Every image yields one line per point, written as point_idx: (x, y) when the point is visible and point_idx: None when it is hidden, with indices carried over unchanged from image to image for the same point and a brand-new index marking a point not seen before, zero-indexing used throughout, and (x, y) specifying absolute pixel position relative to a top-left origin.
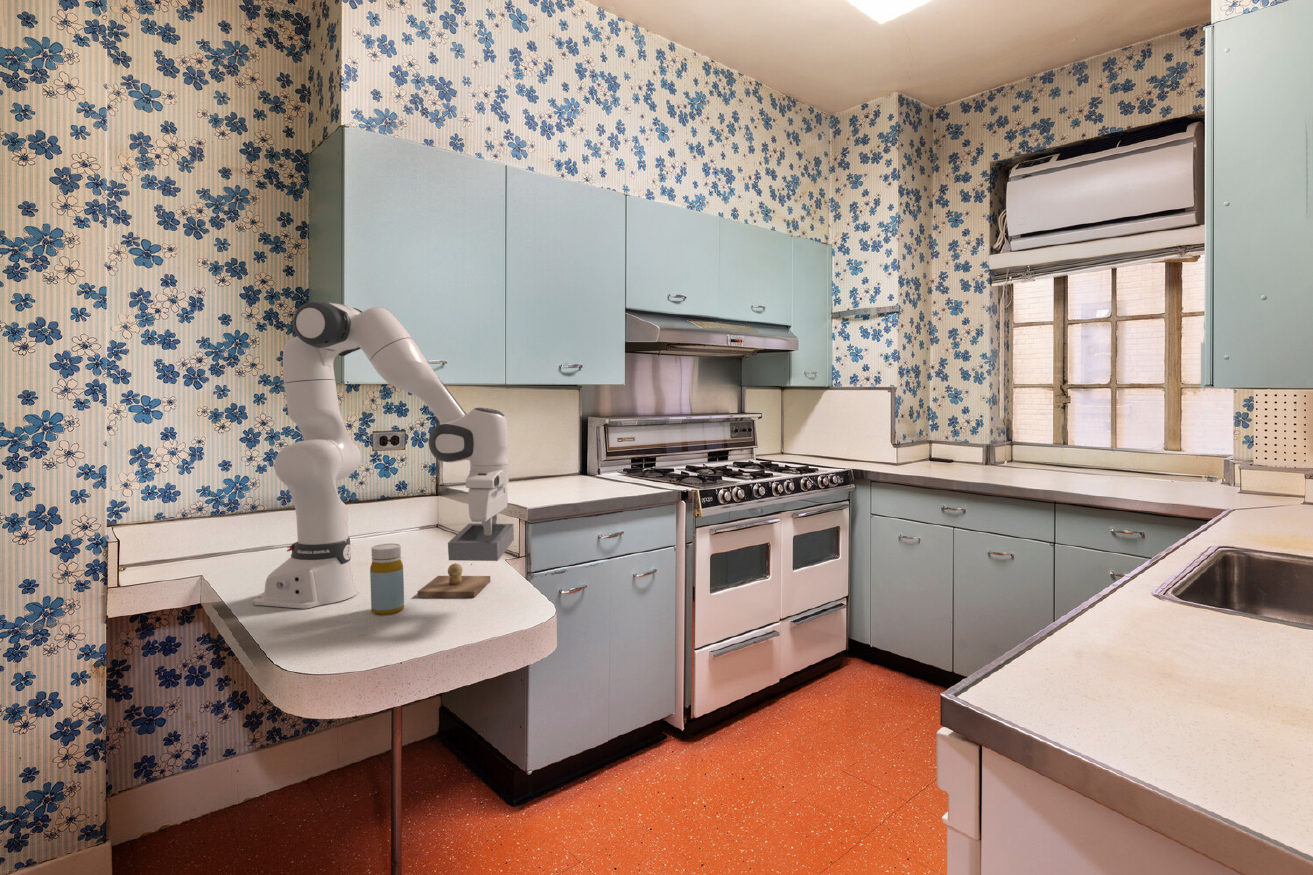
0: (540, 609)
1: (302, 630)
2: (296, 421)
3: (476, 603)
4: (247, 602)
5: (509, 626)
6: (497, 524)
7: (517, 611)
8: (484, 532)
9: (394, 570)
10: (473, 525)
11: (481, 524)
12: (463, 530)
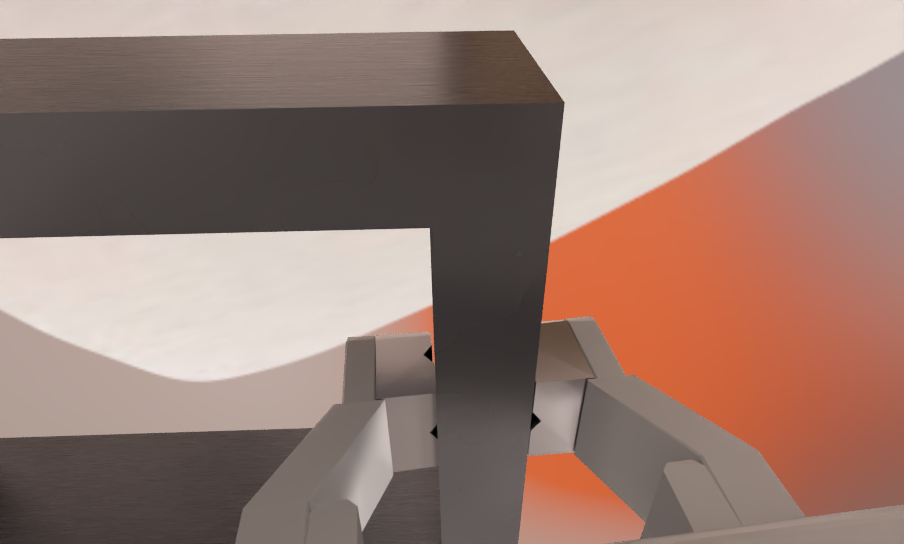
0: (316, 343)
1: None
2: None
3: (359, 31)
4: None
5: (74, 296)
6: (485, 514)
7: (271, 271)
8: (345, 359)
9: None
10: (432, 236)
11: (485, 349)
12: (19, 163)
